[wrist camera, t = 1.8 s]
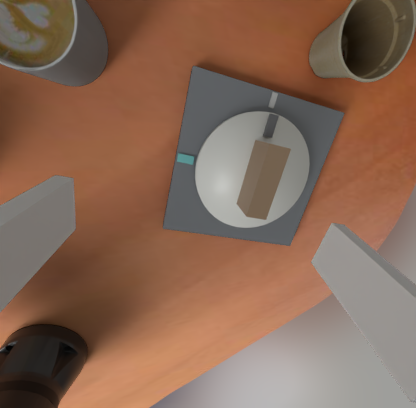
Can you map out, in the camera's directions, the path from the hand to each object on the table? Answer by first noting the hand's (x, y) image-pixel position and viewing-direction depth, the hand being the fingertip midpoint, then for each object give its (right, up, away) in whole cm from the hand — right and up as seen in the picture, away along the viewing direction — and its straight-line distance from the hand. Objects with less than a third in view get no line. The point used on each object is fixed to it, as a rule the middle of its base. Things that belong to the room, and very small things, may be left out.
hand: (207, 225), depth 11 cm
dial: (+7, +6, +24) cm, 25 cm away
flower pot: (+18, +23, +21) cm, 36 cm away
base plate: (+6, +7, +26) cm, 27 cm away
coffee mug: (-19, +23, +15) cm, 33 cm away
